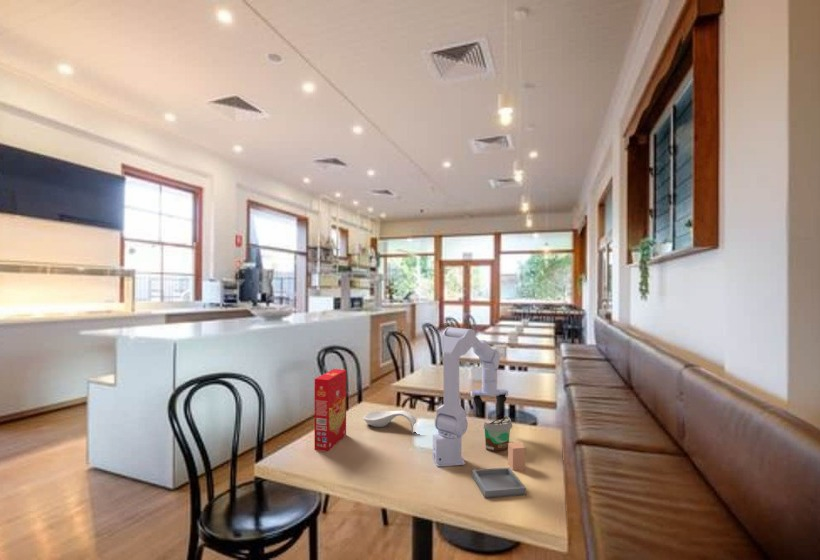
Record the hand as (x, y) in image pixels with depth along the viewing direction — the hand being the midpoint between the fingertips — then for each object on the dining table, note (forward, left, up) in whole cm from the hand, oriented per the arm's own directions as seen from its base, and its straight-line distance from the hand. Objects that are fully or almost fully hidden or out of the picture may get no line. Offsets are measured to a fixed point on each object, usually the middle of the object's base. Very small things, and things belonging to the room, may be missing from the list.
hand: (489, 414), depth 156 cm
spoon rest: (-37, +13, -8) cm, 40 cm away
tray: (-10, -36, -8) cm, 38 cm away
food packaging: (-60, +1, -8) cm, 61 cm away
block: (0, -26, -8) cm, 27 cm away
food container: (0, -13, -8) cm, 15 cm away
